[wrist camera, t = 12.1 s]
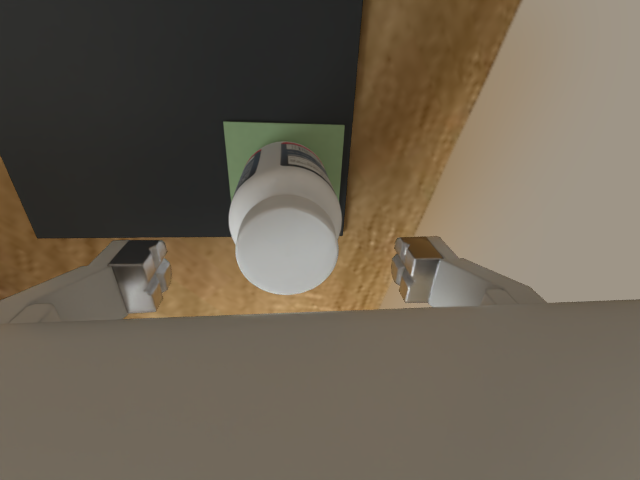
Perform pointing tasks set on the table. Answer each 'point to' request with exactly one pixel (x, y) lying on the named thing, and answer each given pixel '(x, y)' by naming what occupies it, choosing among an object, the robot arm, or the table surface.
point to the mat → (167, 106)
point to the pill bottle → (285, 219)
